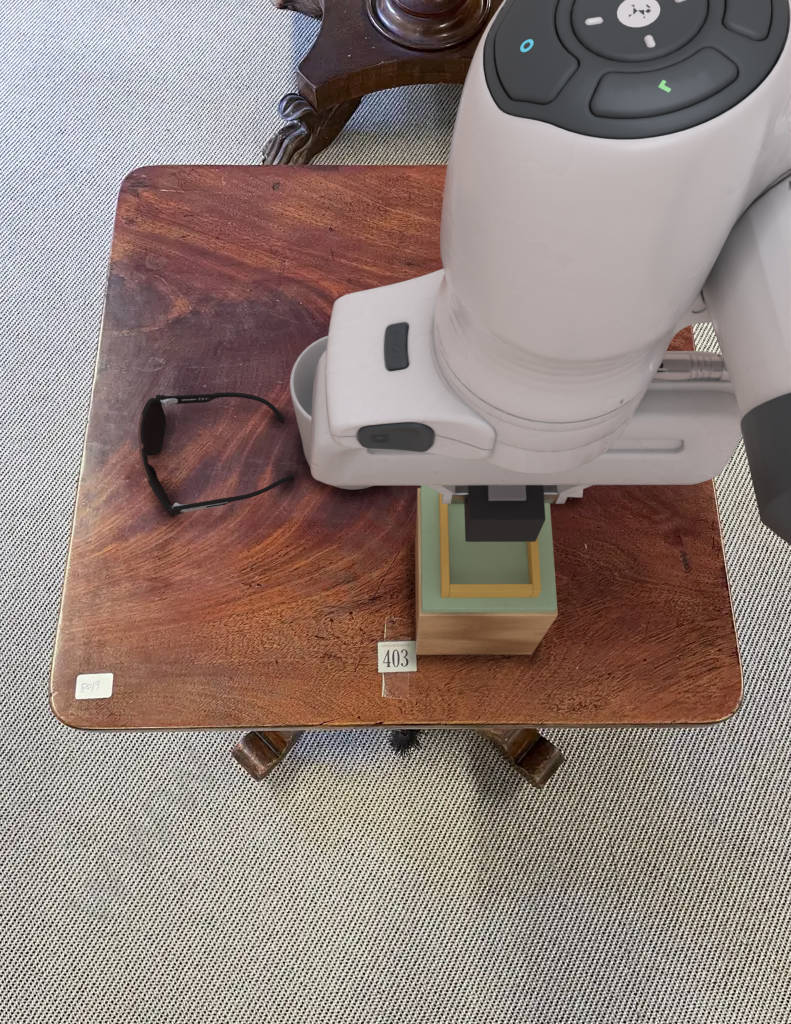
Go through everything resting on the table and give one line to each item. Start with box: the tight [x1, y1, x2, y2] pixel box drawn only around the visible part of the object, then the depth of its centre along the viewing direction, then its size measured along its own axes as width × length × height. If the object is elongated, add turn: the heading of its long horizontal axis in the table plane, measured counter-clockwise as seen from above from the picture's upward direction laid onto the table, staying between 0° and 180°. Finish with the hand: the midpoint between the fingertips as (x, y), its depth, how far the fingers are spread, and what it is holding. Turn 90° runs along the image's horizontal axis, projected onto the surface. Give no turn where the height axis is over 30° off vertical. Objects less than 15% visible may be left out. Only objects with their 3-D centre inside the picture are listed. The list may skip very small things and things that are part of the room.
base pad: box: [420, 485, 558, 612], centre depth 56 cm, size 9×9×2 cm
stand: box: [414, 487, 559, 656], centre depth 63 cm, size 9×9×12 cm
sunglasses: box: [137, 391, 295, 519], centre depth 71 cm, size 10×12×5 cm
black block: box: [464, 485, 545, 542], centre depth 48 cm, size 4×5×4 cm
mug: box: [289, 335, 372, 491], centre depth 68 cm, size 12×8×11 cm
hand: (501, 491), depth 48 cm, fingers closed on black block, 4 cm apart
